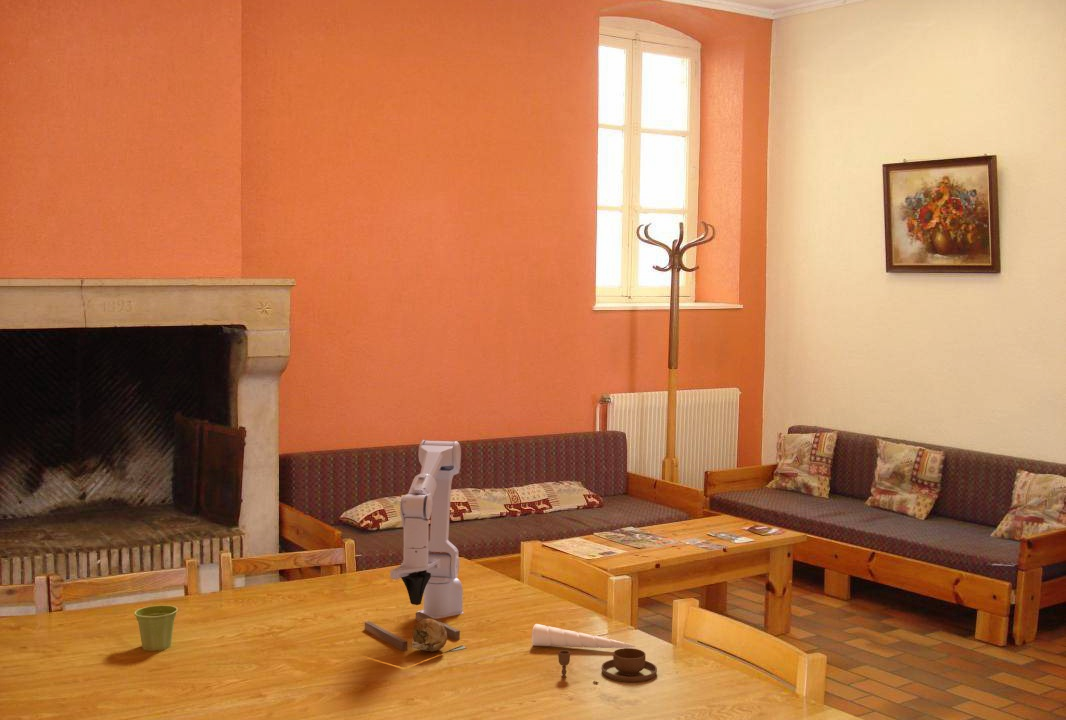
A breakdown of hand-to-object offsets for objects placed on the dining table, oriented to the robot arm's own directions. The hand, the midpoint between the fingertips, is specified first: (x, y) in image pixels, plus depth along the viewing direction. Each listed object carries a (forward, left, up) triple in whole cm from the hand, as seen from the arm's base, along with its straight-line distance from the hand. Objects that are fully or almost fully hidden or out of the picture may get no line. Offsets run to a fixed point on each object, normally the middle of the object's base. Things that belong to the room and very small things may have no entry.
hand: (415, 603), depth 254 cm
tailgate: (-2, +5, -9) cm, 11 cm away
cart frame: (-2, -5, -9) cm, 11 cm away
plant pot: (+50, -30, -10) cm, 59 cm away
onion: (0, +5, -5) cm, 7 cm away
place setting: (-25, +40, -10) cm, 48 cm away
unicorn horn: (-33, +28, -14) cm, 45 cm away
